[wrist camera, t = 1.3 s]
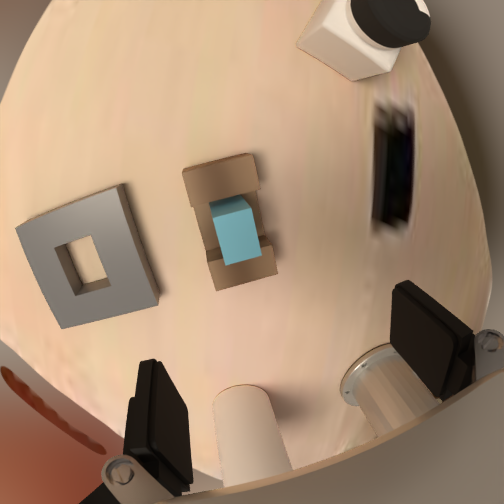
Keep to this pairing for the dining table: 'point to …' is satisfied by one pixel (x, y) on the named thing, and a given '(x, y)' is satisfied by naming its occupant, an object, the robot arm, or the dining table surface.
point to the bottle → (248, 436)
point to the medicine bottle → (363, 34)
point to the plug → (235, 229)
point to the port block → (110, 253)
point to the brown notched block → (200, 194)
